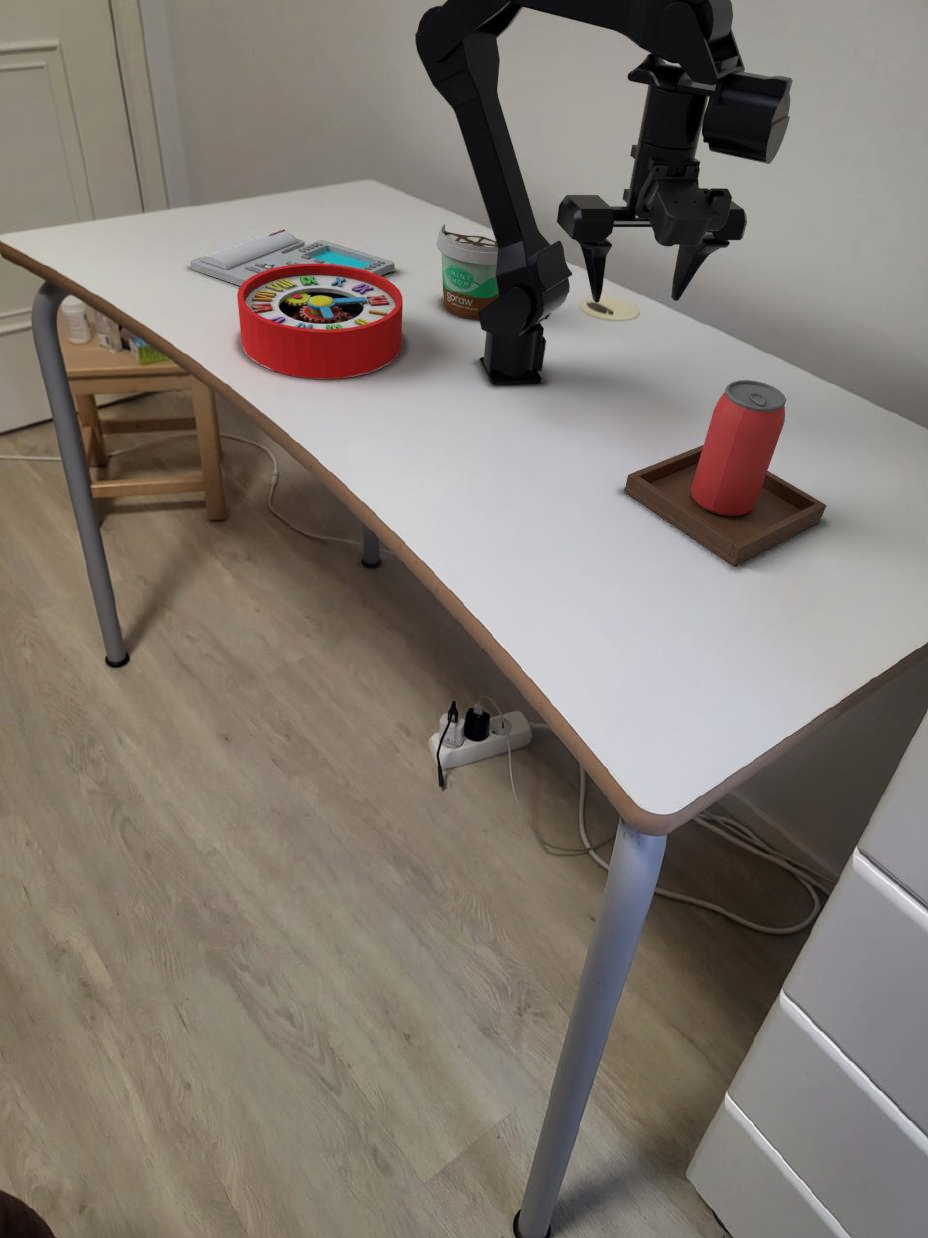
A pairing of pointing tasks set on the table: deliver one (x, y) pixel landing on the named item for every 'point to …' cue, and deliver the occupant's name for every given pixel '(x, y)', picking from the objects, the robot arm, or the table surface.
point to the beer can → (738, 448)
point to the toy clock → (320, 320)
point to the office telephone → (282, 257)
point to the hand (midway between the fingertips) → (635, 300)
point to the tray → (728, 537)
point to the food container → (467, 273)
